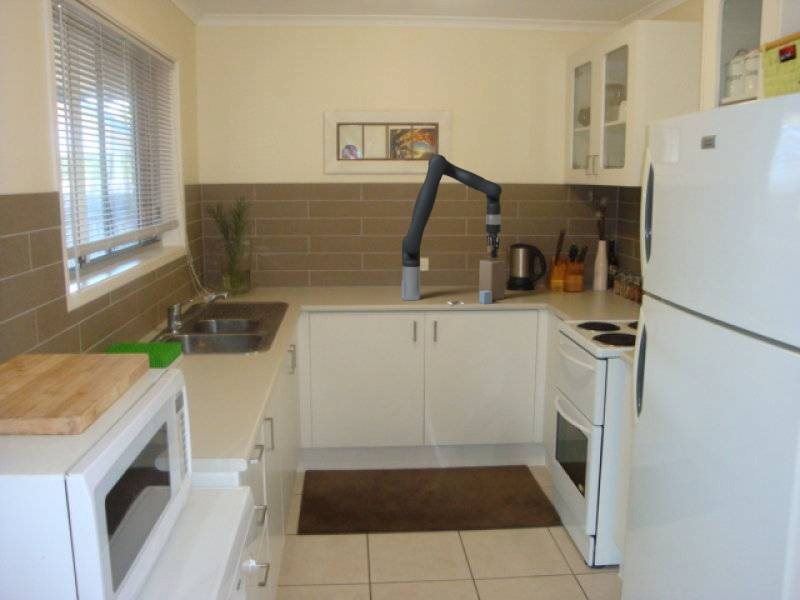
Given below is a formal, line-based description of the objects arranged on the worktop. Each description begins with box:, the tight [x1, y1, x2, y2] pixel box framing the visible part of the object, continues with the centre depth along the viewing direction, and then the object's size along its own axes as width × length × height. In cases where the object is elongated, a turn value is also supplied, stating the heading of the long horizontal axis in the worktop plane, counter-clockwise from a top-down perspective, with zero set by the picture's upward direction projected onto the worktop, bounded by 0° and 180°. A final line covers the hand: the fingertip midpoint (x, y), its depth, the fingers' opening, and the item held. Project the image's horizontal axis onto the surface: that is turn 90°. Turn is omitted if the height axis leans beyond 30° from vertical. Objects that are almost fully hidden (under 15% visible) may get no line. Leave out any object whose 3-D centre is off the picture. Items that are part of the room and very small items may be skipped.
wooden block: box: [478, 258, 507, 301], centre depth 364 cm, size 10×10×20 cm
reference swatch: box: [446, 300, 465, 306], centre depth 353 cm, size 7×7×1 cm
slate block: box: [478, 290, 493, 305], centre depth 353 cm, size 4×4×6 cm
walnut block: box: [486, 245, 500, 259], centre depth 361 cm, size 4×4×6 cm
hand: (492, 256), depth 362 cm, fingers closed on walnut block, 4 cm apart
